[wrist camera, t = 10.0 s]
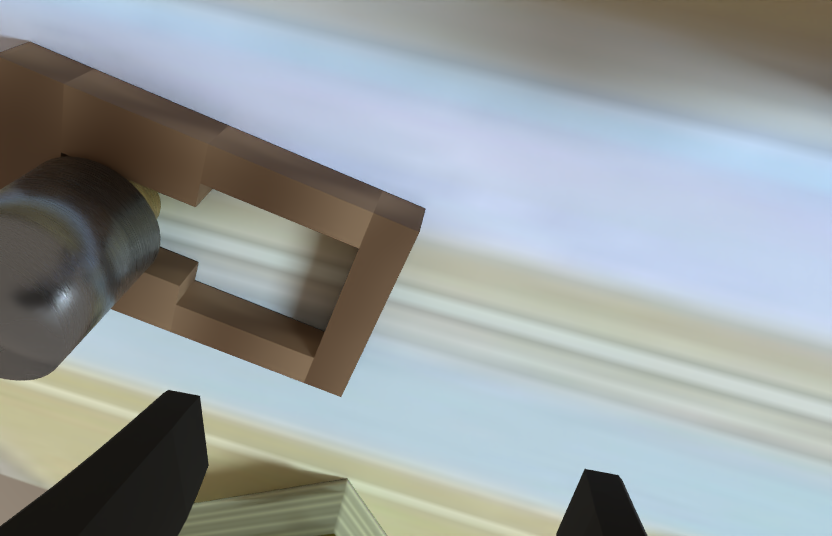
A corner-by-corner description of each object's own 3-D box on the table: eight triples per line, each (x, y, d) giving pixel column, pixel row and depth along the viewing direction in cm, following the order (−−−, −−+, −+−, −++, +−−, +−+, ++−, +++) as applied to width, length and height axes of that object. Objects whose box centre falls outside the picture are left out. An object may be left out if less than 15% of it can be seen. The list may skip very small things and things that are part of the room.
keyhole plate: (425, 208, 19) (419, 232, 18) (350, 369, 24) (341, 397, 23) (30, 41, 18) (-6, 54, 17) (28, 244, 23) (0, 266, 21)
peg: (210, 207, 21) (96, 334, 15) (140, 269, 22) (16, 402, 17) (104, 107, 19) (-68, 208, 13) (39, 183, 21) (-135, 298, 15)
